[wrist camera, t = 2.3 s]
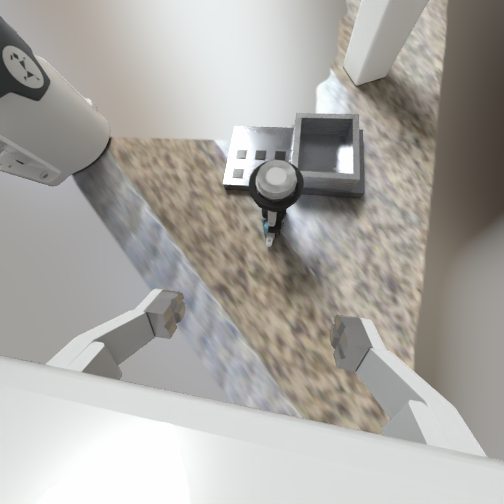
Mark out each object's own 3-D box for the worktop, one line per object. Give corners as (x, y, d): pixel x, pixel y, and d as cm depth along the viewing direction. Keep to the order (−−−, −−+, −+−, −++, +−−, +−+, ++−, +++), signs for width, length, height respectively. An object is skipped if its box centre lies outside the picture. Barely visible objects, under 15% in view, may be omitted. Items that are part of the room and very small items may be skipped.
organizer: (224, 188, 29) (218, 172, 25) (235, 132, 31) (231, 111, 28) (360, 198, 26) (374, 181, 23) (358, 136, 29) (371, 113, 26)
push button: (286, 251, 25) (298, 219, 16) (249, 244, 26) (238, 210, 16) (294, 208, 27) (309, 155, 17) (259, 202, 28) (254, 149, 18)
